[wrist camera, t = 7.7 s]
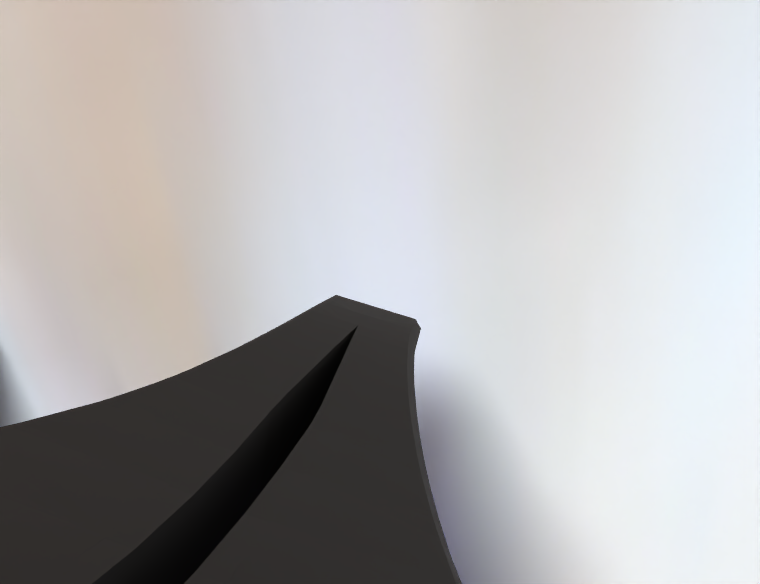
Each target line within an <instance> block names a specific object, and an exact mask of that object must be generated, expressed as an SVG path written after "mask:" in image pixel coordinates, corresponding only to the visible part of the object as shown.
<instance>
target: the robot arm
mask: <svg viewBox="0 0 760 584" xmlns="http://www.w3.org/2000/svg"><path fill="white" fill-rule="evenodd" d="M420 330H421V328H420V326H419V325H418V323H417V321H416V319H413V318H410V317H407V316H403V315H400V314H397V313H393V312H390V311H387V310H384V309H380V308H377V307H374V306H370V305H367V304H364V303H361V302H357V301H354V300H351V299H347V298H344V297H341V296H338V295H335V296H333V297H331V298H329V299H327V300H325V301H324V302H322V303H320V304H318V305H316V306H314V307H312V308H311V309H309V310H307V311H305V312H303V313H302V314H300V315H298V316H296V317H295V318H293V319H291V320H289V321H287V322H286V323H284V324H282V325H280V326H278V327H276V328H275V329H273V330H271V331H269V332H267V333H265V334H263V335H261V336H259V337H257V338H255V339H253V340H252V341H250V342H248V343H246V344H244V345H242V346H240V347H238V348H236V349H234V350H232V351H229V352H227V353H225V354H223V355H221V356H218V357H216V358H214V359H212V360H210V361H207V362H205V363H203V364H201V365H199V366H196V367H194V368H192V369H190V370H187V371H185V372H182V373H180V374H178V375H175V376H173V377H170V378H167V379H165V380H162V381H159V382H157V383H154V384H151V385H148V386H145V387H142V388H139V389H137V390H134V391H131V392H128V393H125V394H122V395H119V396H116V397H113V398H110V399H106V400H103V401H100V402H97V403H93V404H89V405H85V406H82V407H78V408H74V409H70V410H66V411H63V412H59V413H55V414H51V415H48V416H44V417H40V418H36V419H33V420H29V421H25V422H21V423H17V424H13V425H8V426H4V427H0V584H461V581H460V579H459V576H458V574H457V571H456V569H455V566H454V563H453V561H452V558H451V555H450V553H449V550H448V546H447V543H446V540H445V537H444V534H443V531H442V527H441V524H440V521H439V518H438V515H437V511H436V507H435V504H434V500H433V496H432V493H431V489H430V485H429V480H428V476H427V472H426V467H425V462H424V457H423V452H422V446H421V440H420V435H419V428H418V420H417V412H416V400H415V388H414V354H415V349H416V345H417V341H418V337H419V333H420Z"/></svg>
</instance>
